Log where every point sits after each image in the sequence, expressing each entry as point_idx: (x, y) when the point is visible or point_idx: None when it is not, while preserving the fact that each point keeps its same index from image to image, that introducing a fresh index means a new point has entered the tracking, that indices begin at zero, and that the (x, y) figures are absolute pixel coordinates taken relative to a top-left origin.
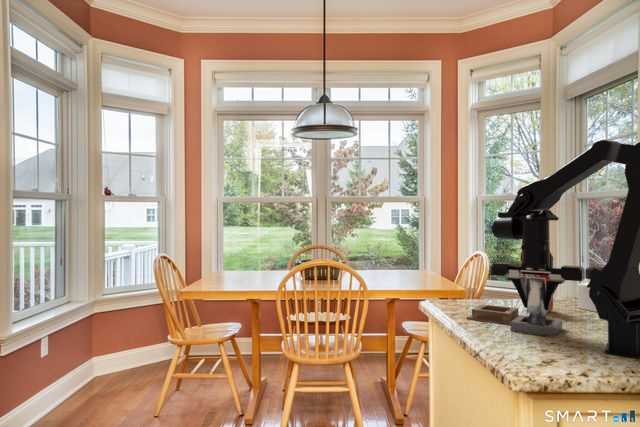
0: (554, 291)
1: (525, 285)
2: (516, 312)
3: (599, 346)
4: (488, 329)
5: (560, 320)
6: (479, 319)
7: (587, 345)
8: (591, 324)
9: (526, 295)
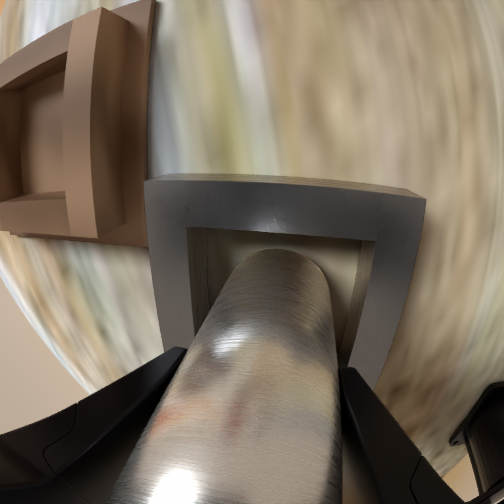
0: (438, 496)
1: (69, 484)
2: (107, 53)
3: (466, 397)
4: (122, 361)
5: (416, 215)
6: (37, 236)
7: (439, 407)
8: (489, 9)
9: (141, 422)
